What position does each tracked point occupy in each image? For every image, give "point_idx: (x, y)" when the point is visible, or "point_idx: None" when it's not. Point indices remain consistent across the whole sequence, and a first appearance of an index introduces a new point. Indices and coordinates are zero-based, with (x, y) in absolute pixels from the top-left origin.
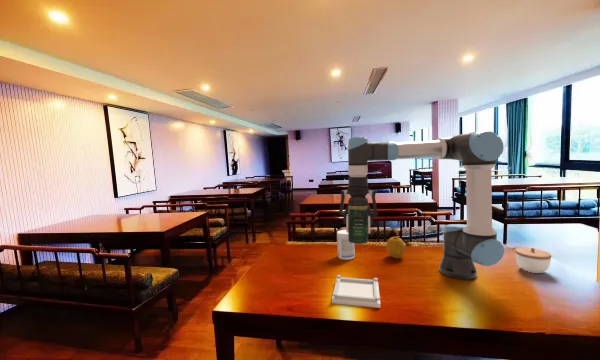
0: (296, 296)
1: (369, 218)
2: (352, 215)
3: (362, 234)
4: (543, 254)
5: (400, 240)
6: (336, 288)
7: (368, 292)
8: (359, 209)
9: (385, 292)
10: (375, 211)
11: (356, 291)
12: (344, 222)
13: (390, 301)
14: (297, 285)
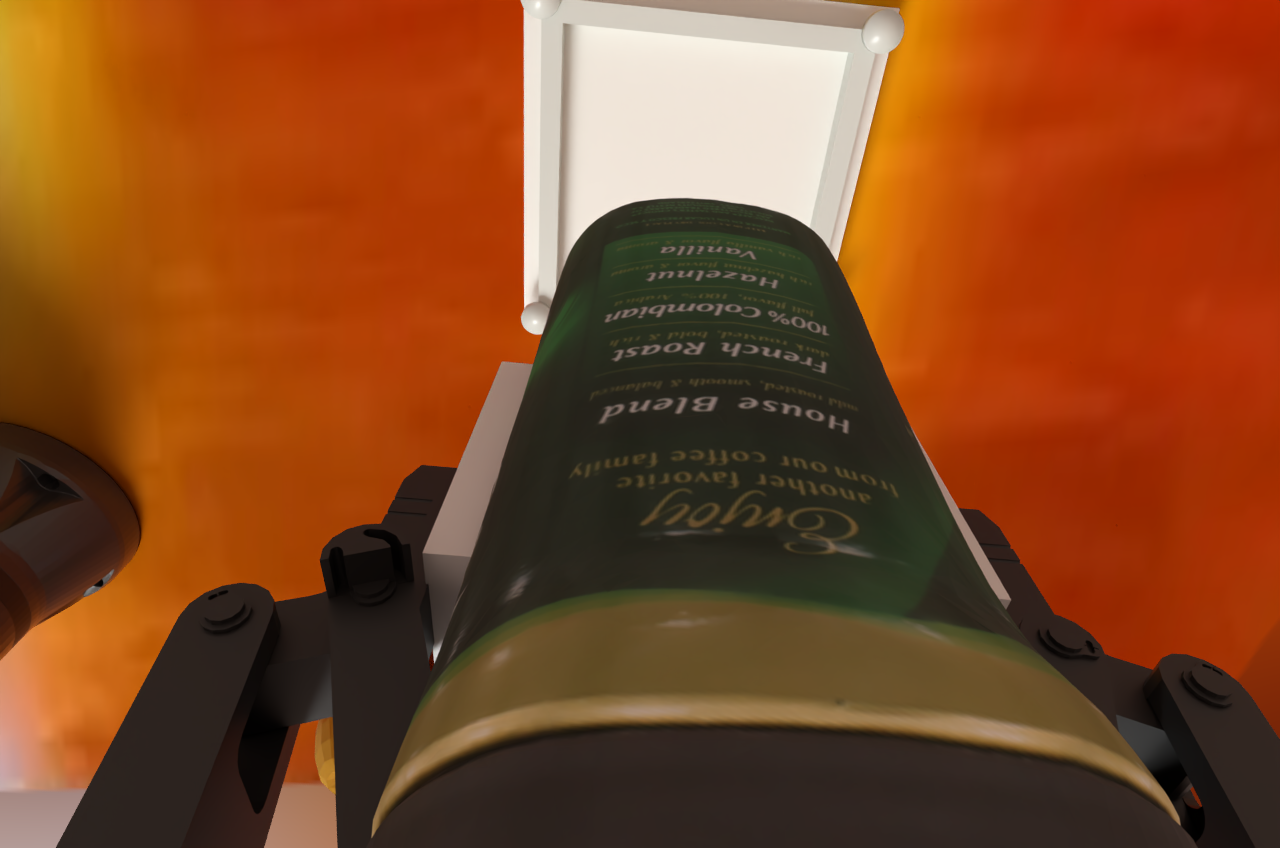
0: (1155, 90)
1: (446, 532)
2: (918, 513)
3: (638, 248)
4: None
5: (326, 760)
6: (848, 155)
7: (602, 153)
8: (738, 603)
9: (482, 214)
10: (209, 681)
11: (691, 160)
12: (981, 527)
13: (452, 82)
14: (1112, 263)
